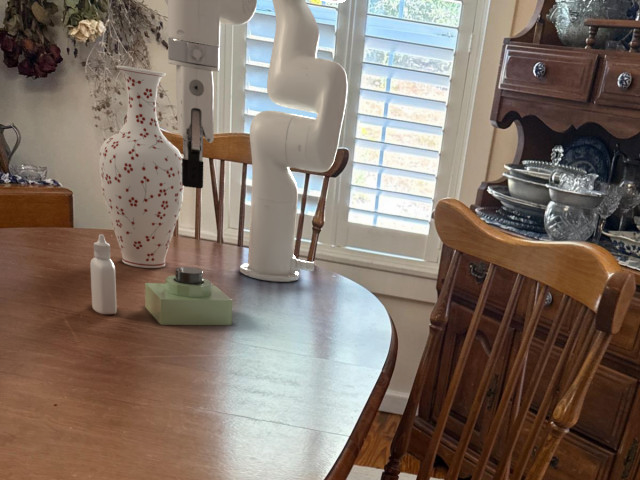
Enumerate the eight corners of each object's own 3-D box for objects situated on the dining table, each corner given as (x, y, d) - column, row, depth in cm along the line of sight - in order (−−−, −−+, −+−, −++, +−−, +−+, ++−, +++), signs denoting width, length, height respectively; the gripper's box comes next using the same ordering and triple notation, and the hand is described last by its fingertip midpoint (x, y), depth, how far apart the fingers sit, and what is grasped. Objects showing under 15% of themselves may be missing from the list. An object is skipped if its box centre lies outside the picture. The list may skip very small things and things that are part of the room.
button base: (213, 308, 139) (214, 274, 136) (231, 325, 132) (233, 289, 129) (145, 307, 133) (144, 271, 130) (160, 324, 126) (160, 287, 123)
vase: (172, 277, 154) (173, 75, 136) (90, 264, 153) (81, 59, 135) (192, 261, 168) (195, 77, 150) (117, 250, 167) (112, 62, 149)
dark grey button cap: (197, 280, 132) (198, 267, 131) (205, 287, 129) (206, 274, 128) (172, 279, 130) (172, 266, 129) (179, 286, 127) (179, 273, 126)
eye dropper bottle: (121, 307, 131) (119, 233, 125) (114, 316, 126) (112, 239, 120) (94, 304, 130) (91, 229, 124) (86, 313, 125) (82, 235, 119)
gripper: (225, 62, 112) (221, 197, 122) (213, 59, 124) (210, 182, 134) (171, 53, 110) (171, 191, 119) (165, 51, 122) (165, 176, 131)
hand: (192, 186), depth 126 cm, fingers closed
